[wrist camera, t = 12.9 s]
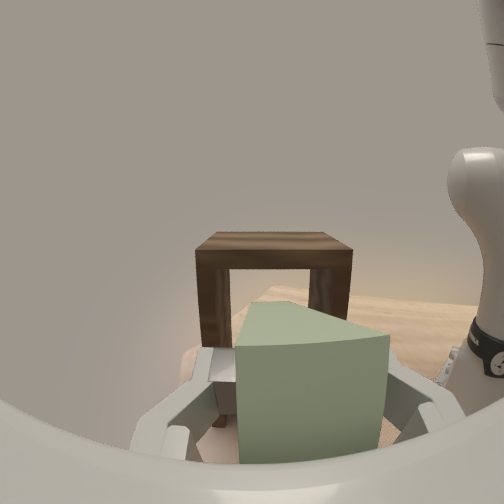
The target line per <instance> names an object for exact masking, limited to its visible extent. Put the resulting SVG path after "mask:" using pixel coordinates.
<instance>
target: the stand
mask: <svg viewBox="0 0 504 504" xmlns="http://www.w3.org/2000/svg"><path fill="white" fill-rule="evenodd" d="M352 256H353V249H351V248H349V247H348V246H346V245H344V244H343V243H341V242H339V241H338V240H336V239H334V238H332V237H331V236H329V235H327V234H326V233H324V232H216V233H215V234H213V235H212V236H211V237H210V238H209V239H207V240H206V241H205V242H204V243H203V244H201V245H200V246H199V247H198V248H197V249H196V250H195V257H196V274H197V290H198V305H199V317H200V329H201V340H202V347H211V348H215V347H218V348H232V331H231V306H230V276H229V275H230V274H229V269H310V287H309V302H308V308H310V309H313V310H316V311H319V312H322V313H325V314H328V315H331V316H334V317H337V318H340V319H343V320H346V319H347V311H348V302H349V292H350V282H351V271H352ZM226 418H227V415H221V414H219V417H218V418H217V419H216V421H215V422H214V423H213V424H212V427H225V424H226Z"/></svg>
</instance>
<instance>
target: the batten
mask: <svg viewBox="0 0 504 504" xmlns="http://www.w3.org/2000/svg"><path fill="white" fill-rule="evenodd" d="M389 349H390V335H389V334H386V333H383V332H380V331H377V330H373V329H370V328H367V327H364V326H361V325H358V324H355V323H352V322H349V321H346V320H343V319H340V318H337V317H334V316H331V315H328V314H325V313H322V312H319V311H316V310H313V309H310V308H307V307H304V306H301V305H298V304H296V303H293V302H290V301H280V302H251V305H250V307H249V310H248V313H247V315H246V318H245V320H244V323H243V326H242V328H241V331H240V333H239V336H238V339H237V341H236V344H235V371H236V399H237V422H238V443H239V462H240V464H276V463H291V462H303V461H312V460H320V459H327V458H333V457H339V456H345V455H350V454H355V453H360V452H365V451H369V450H373V449H377V447H378V442H379V437H380V431H381V425H382V419H383V412H384V405H385V397H386V388H387V378H388V365H389Z"/></svg>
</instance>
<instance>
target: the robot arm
mask: <svg viewBox="0 0 504 504" xmlns="http://www.w3.org/2000/svg"><path fill="white" fill-rule="evenodd" d="M477 6H478V11H479V16H480V21H481V26H482V31H483V36H484V40H485V44H486V50H487V55H488V60H489V66H490V73H491V80H492V89H493V95H494V98H495V101H496V103H497V105H498V107H499V108H500V110H501V111H502V112H503V113H504V0H477ZM447 185H448V193H449V197H450V200H451V202H452V205H453V207H454V208H455V210H456V212H457V213H458V214H459V216H460V217H461V218H462V219H463V220H464V221H465V222H466V223H467V225H468V226H469V227H470V229H471V230H472V232H473V233H474V235H475V237H476V239H477V241H478V244H479V246H480V250H481V253H482V258H483V266H484V274H483V286H482V292H481V298H480V303H479V308H478V312H477V316H476V317H475V318H474V319H473V322H472V324H471V326H470V329H469V334H468V337H467V338H465V339H464V340H463V343H462V345H461V347H460V348H459V347H455V346H452V349H451V352H450V355H449V357H448V359H447V361H446V363H445V365H444V367H443V368H442V370H441V372H440V374H439V375H438V377H437V379H436V380H435V382H432V381H431V380H429V379H427V378H425V377H424V376H422V375H420V374H418V373H417V372H415V371H413V370H411V369H410V368H408V367H406V366H401V364H400V363H399V361H398V359H397V357H396V355H395V354H394V352H393V350H392V348H391V347H390V349H389V365H388V378H387V388H386V397H385V405H384V412H383V416H384V417H385V418H386V419H387V420H388V421H389V422H391V423H392V424H393V425H394V426H395V427H396V428H398V429H399V430H400V431H401V433H400V434H399V436H398V437H397V439H396V440H395V441H394V443H393V444H392V445H389V446H385V447H381V448H377V449H373V450H369V451H365V452H360V453H355V454H350V455H345V456H339V457H333V458H327V459H320V460H312V461H303V462H291V463H276V464H224V463H208V462H203V460H202V458H201V456H200V453H199V451H198V449H197V446H196V443H197V442H198V441H199V439H200V438H201V437H202V436H203V435H204V434H205V432H206V431H207V430H208V429H209V428H210V427H211V425H212V424H213V423H214V422H215V421H216V419H217V418H218V417H219V414H221V415H237V399H236V371H235V348H218V347H215V348H211V347H200V348H199V350H198V353H197V357H196V362H195V366H194V370H193V374H192V379H191V381H186V382H184V383H183V384H182V385H181V386H180V387H178V388H177V389H176V390H175V391H173V392H172V393H171V394H170V395H169V396H167V397H166V398H165V399H164V400H162V401H161V402H160V403H159V404H157V405H156V406H155V407H153V408H152V409H151V410H150V411H148V412H147V413H146V414H144V415H143V416H142V417H141V418H140V419H139V420H138V423H137V426H136V429H135V432H134V435H133V438H132V441H131V444H130V447H129V450H126V449H122V448H118V447H114V446H110V445H107V444H104V443H100V442H97V441H94V440H91V439H87V438H84V437H82V436H79V435H76V434H73V433H71V432H68V431H65V430H63V429H60V428H57V427H55V426H53V425H50V424H48V423H46V422H44V421H41V420H39V419H37V418H35V417H33V416H31V415H29V414H27V413H25V412H23V411H21V410H19V409H17V408H15V407H13V406H11V405H10V404H8V403H6V402H4V401H3V400H1V399H0V504H504V149H500V148H493V147H475V148H467V149H461V150H460V151H459V152H458V153H457V154H456V155H455V156H454V158H453V160H452V162H451V164H450V167H449V171H448V177H447Z"/></svg>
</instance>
